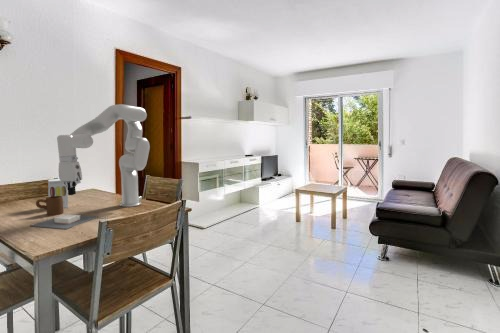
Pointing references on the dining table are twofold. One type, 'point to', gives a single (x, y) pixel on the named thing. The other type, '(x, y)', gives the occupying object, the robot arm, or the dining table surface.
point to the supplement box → (58, 190)
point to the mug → (52, 205)
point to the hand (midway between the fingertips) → (72, 194)
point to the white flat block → (67, 219)
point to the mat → (52, 223)
